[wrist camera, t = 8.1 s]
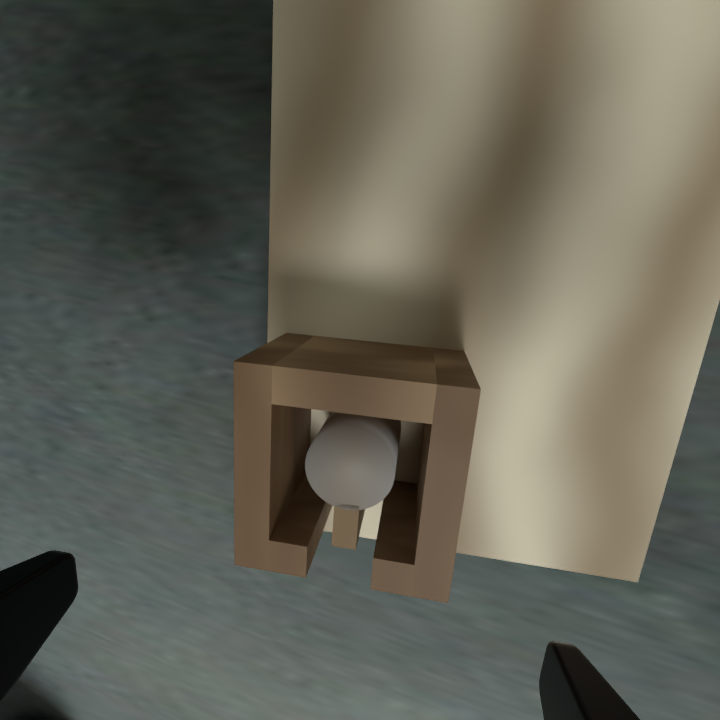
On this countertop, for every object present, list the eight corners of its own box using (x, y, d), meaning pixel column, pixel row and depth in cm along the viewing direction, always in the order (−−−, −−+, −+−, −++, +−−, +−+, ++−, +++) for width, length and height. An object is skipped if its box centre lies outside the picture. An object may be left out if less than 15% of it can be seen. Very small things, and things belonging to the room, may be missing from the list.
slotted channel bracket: (464, 351, 15) (480, 389, 10) (441, 512, 16) (448, 602, 12) (286, 332, 16) (233, 361, 11) (281, 488, 17) (234, 564, 13)
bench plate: (763, 26, 13) (973, -118, 8) (620, 555, 17) (695, 669, 13) (288, 24, 14) (220, -93, 10) (276, 501, 19) (227, 582, 14)
